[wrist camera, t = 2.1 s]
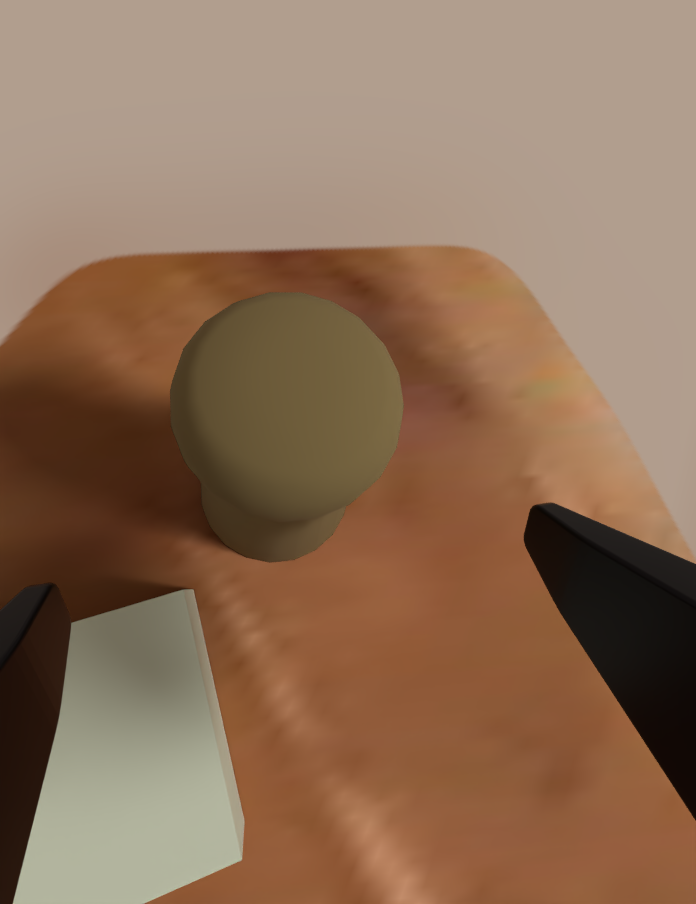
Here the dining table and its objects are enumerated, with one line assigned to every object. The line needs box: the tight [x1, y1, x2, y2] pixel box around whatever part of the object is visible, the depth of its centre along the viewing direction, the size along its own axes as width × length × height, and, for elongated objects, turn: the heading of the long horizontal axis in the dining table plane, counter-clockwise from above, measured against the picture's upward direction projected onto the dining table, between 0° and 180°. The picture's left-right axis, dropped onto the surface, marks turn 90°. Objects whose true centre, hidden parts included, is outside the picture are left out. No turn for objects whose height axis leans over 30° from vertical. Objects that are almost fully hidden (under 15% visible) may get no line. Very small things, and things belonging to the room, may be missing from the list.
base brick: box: [13, 589, 244, 904], centre depth 15 cm, size 8×8×2 cm
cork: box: [170, 293, 404, 562], centre depth 15 cm, size 6×6×11 cm
